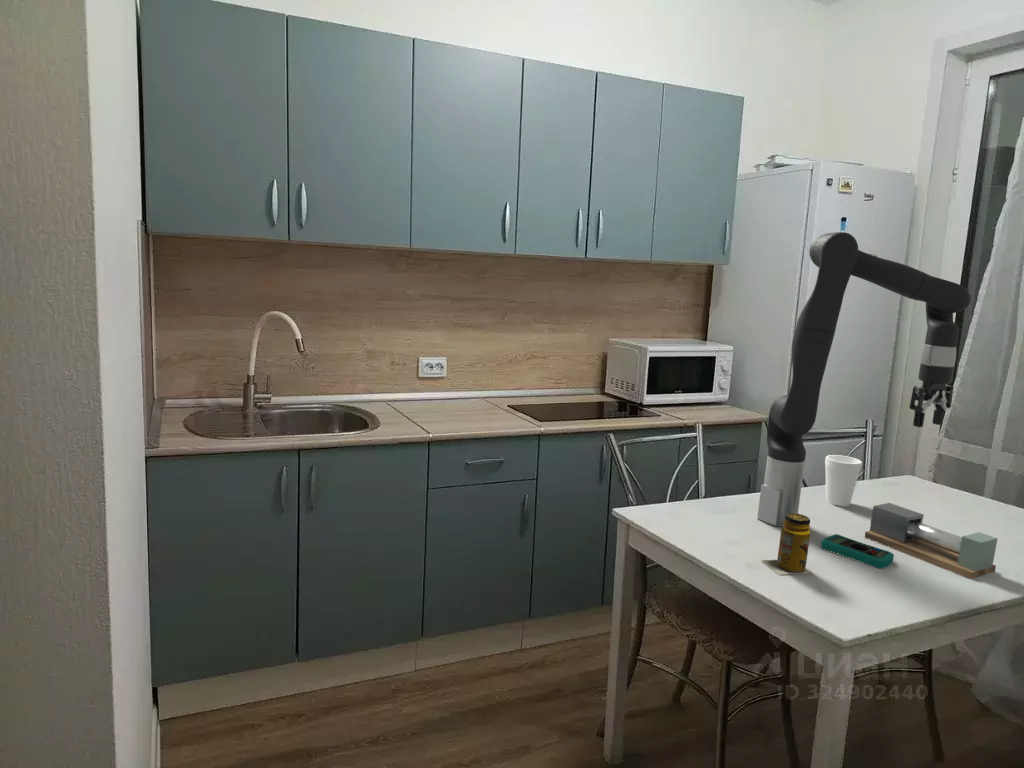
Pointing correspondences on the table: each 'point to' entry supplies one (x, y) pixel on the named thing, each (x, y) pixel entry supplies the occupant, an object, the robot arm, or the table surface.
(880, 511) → the sleeve
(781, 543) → the condiment
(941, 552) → the board
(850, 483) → the foam cup
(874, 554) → the digital multimeter
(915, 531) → the tube
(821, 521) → the table surface
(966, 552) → the socket
